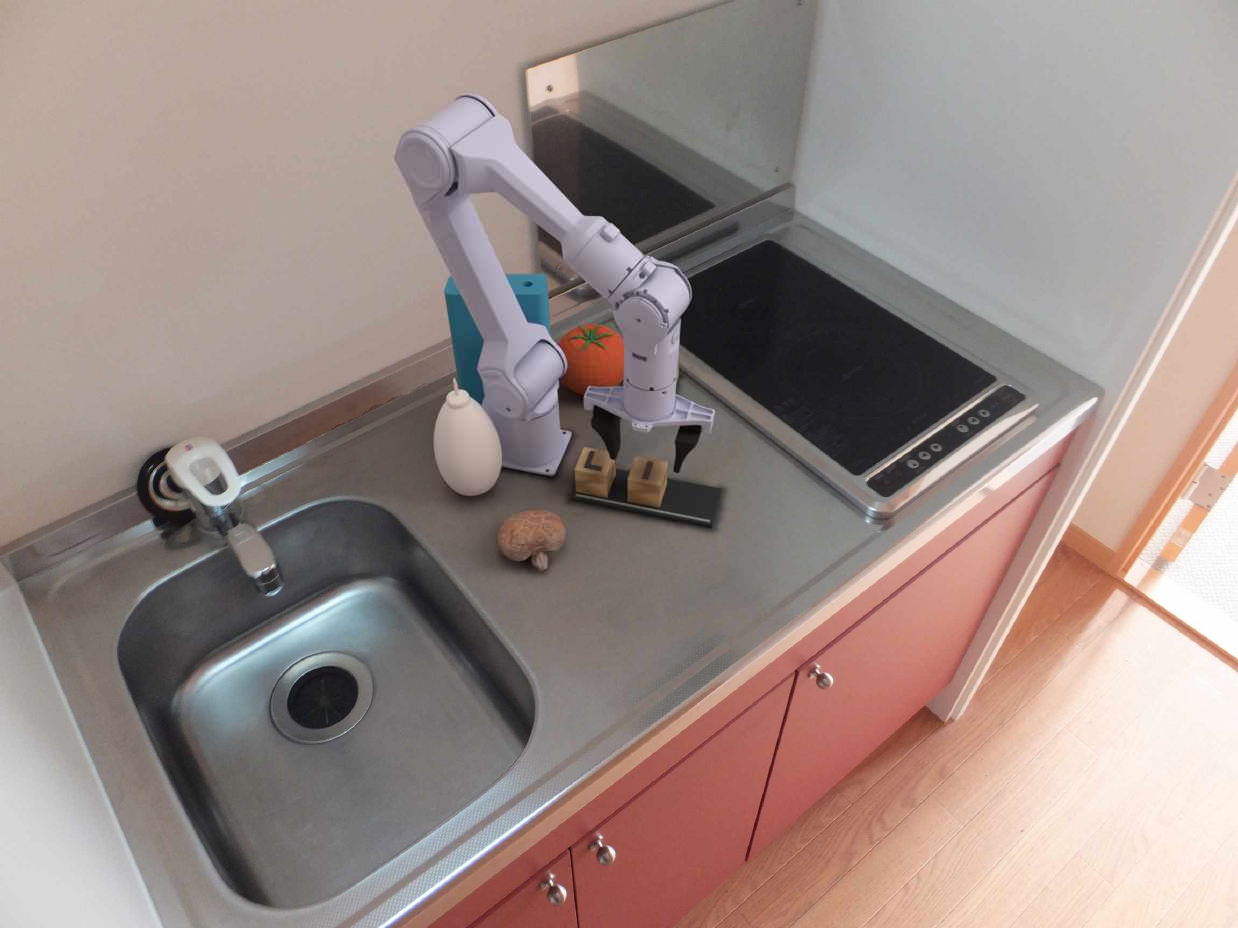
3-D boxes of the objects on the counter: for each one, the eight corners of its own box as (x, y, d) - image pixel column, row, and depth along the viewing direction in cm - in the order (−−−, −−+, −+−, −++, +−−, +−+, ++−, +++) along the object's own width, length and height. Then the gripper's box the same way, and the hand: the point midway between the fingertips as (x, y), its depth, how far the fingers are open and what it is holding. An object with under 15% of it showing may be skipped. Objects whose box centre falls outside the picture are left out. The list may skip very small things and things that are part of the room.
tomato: (543, 398, 120) (537, 341, 113) (576, 355, 126) (572, 298, 119) (610, 419, 117) (609, 361, 110) (641, 373, 123) (641, 316, 116)
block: (556, 405, 119) (547, 274, 106) (554, 428, 116) (544, 294, 103) (469, 405, 120) (449, 274, 107) (463, 428, 116) (442, 294, 103)
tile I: (627, 501, 106) (627, 478, 103) (635, 478, 109) (635, 454, 106) (659, 507, 105) (660, 484, 102) (666, 484, 108) (667, 460, 105)
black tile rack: (572, 500, 107) (571, 497, 107) (585, 466, 111) (585, 462, 111) (711, 528, 104) (712, 524, 103) (721, 491, 108) (721, 488, 107)
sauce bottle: (498, 458, 112) (481, 349, 99) (513, 502, 107) (496, 392, 94) (438, 473, 110) (412, 363, 97) (450, 518, 105) (424, 408, 92)
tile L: (575, 491, 107) (574, 468, 104) (585, 468, 110) (583, 445, 107) (607, 498, 106) (606, 474, 103) (615, 474, 109) (615, 451, 106)
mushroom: (581, 565, 100) (567, 503, 104) (555, 551, 95) (542, 487, 99) (524, 587, 102) (513, 526, 106) (497, 575, 97) (486, 511, 101)
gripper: (574, 384, 92) (577, 472, 102) (709, 410, 89) (699, 497, 99) (593, 343, 96) (594, 430, 106) (722, 367, 94) (711, 454, 104)
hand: (646, 460), depth 103 cm, fingers open, 7 cm apart
